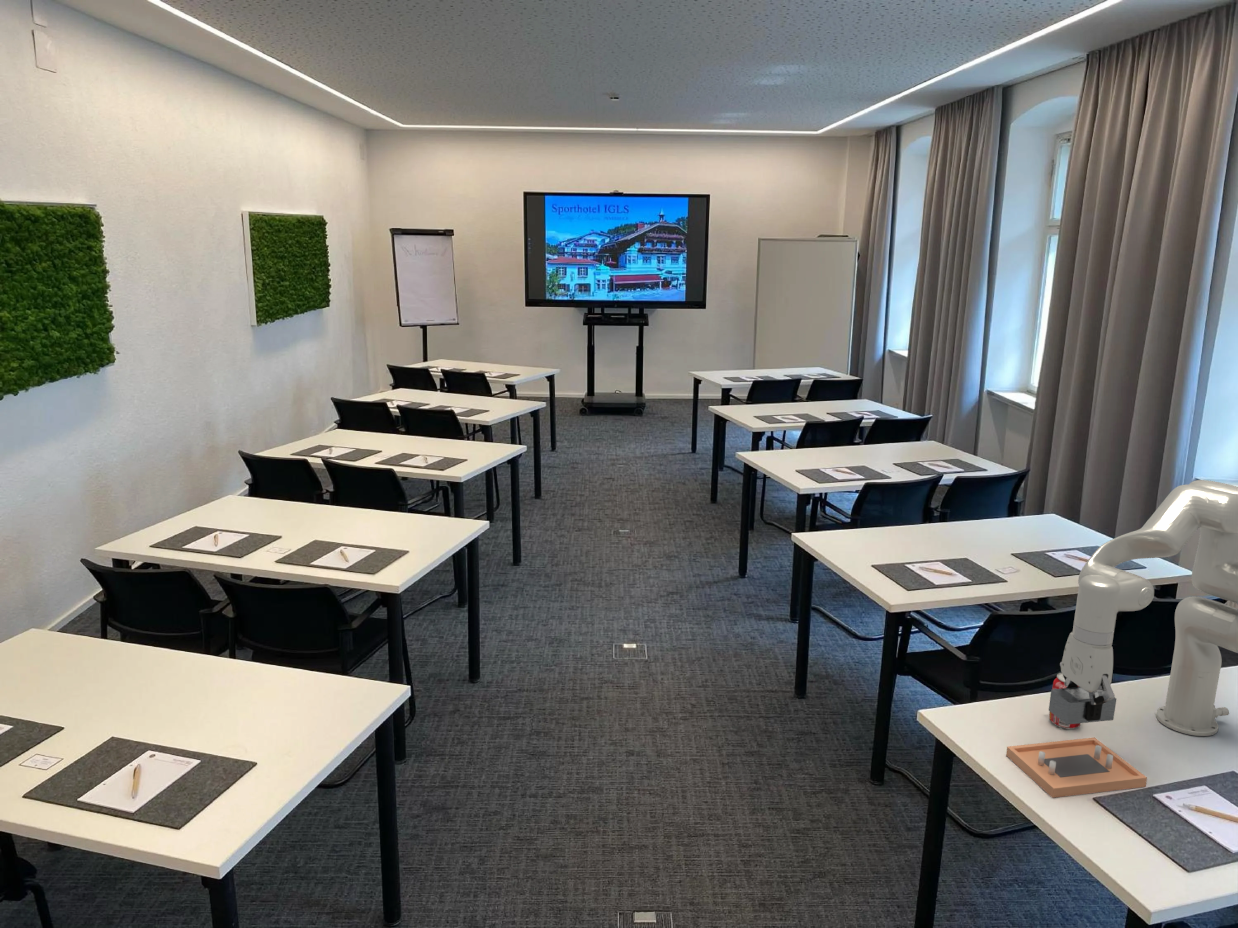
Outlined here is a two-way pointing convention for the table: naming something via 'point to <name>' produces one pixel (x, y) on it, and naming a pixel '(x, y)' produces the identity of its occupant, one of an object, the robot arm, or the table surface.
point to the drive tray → (1075, 767)
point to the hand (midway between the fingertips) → (1081, 710)
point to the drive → (1077, 705)
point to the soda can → (1057, 684)
